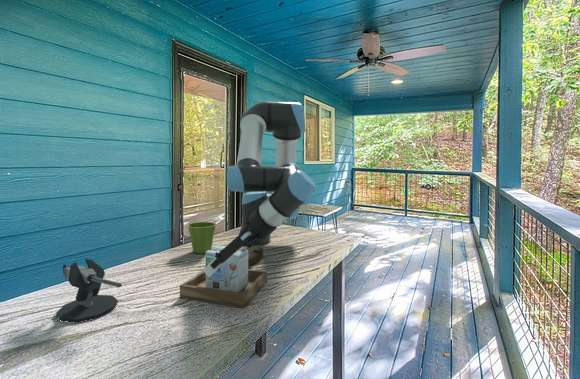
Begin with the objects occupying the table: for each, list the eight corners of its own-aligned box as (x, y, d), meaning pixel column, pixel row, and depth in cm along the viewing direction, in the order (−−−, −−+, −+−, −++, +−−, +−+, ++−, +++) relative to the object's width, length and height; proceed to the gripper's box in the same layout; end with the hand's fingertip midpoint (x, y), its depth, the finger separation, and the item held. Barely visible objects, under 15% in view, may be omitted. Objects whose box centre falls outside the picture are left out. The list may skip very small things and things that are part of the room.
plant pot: (222, 251, 122) (222, 224, 121) (195, 257, 114) (195, 229, 112) (208, 245, 130) (207, 220, 129) (182, 250, 122) (181, 224, 121)
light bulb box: (204, 288, 84) (204, 251, 83) (217, 279, 91) (216, 245, 90) (238, 293, 81) (238, 255, 80) (249, 283, 88) (249, 248, 87)
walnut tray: (212, 275, 97) (212, 264, 96) (267, 282, 91) (267, 271, 91) (179, 297, 80) (179, 285, 80) (244, 308, 75) (244, 295, 75)
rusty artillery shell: (243, 274, 98) (243, 260, 98) (233, 272, 100) (233, 259, 99) (268, 257, 116) (269, 246, 115) (259, 256, 117) (259, 245, 117)
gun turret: (99, 335, 63) (96, 277, 61) (42, 315, 70) (38, 263, 69) (148, 308, 74) (146, 258, 73) (94, 294, 82) (92, 248, 81)
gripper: (260, 239, 68) (203, 292, 73) (290, 219, 92) (245, 260, 97) (239, 214, 69) (184, 269, 74) (274, 201, 93) (230, 243, 98)
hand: (219, 264), depth 86 cm, fingers open, 13 cm apart
